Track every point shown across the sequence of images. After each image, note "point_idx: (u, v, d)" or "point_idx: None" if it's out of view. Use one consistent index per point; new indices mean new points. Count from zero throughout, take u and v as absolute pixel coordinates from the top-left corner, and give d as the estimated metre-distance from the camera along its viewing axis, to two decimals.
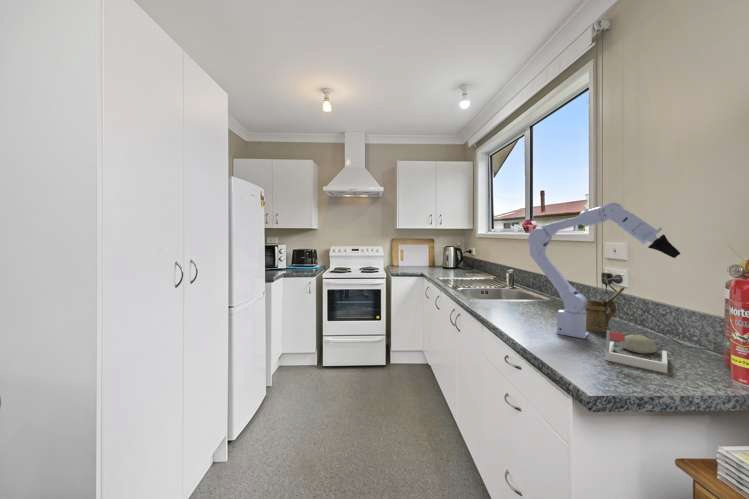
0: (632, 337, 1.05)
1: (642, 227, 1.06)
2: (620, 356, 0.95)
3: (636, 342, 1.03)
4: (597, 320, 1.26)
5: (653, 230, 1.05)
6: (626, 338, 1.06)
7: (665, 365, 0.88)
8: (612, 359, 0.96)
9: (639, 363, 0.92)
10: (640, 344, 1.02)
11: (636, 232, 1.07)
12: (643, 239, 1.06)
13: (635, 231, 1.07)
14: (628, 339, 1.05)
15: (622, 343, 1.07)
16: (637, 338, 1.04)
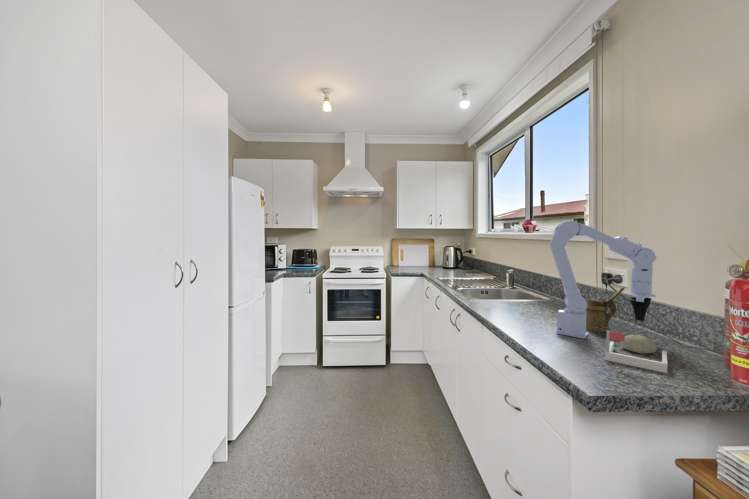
0: (632, 337, 1.05)
1: (644, 285, 1.11)
2: (620, 356, 0.95)
3: (636, 342, 1.03)
4: (597, 320, 1.26)
5: (648, 293, 1.11)
6: (626, 338, 1.06)
7: (665, 365, 0.88)
8: (612, 359, 0.96)
9: (639, 363, 0.92)
10: (640, 344, 1.02)
11: (636, 284, 1.12)
12: (634, 292, 1.13)
13: (636, 283, 1.12)
14: (628, 339, 1.05)
15: (622, 343, 1.07)
16: (637, 338, 1.04)
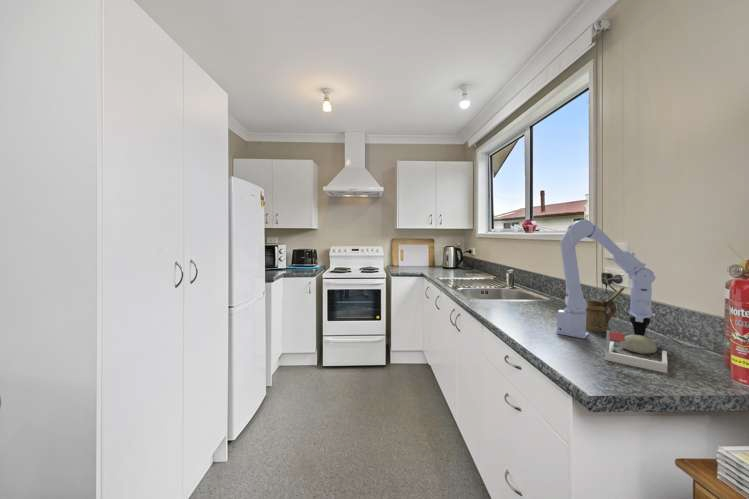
0: (632, 337, 1.05)
1: (644, 304, 1.11)
2: (620, 356, 0.95)
3: (636, 342, 1.03)
4: (597, 320, 1.26)
5: (647, 312, 1.11)
6: (626, 338, 1.06)
7: (665, 365, 0.88)
8: (612, 359, 0.96)
9: (639, 363, 0.92)
10: (640, 344, 1.02)
11: (635, 303, 1.12)
12: (633, 311, 1.13)
13: (636, 302, 1.12)
14: (628, 339, 1.05)
15: (622, 343, 1.07)
16: (637, 338, 1.04)
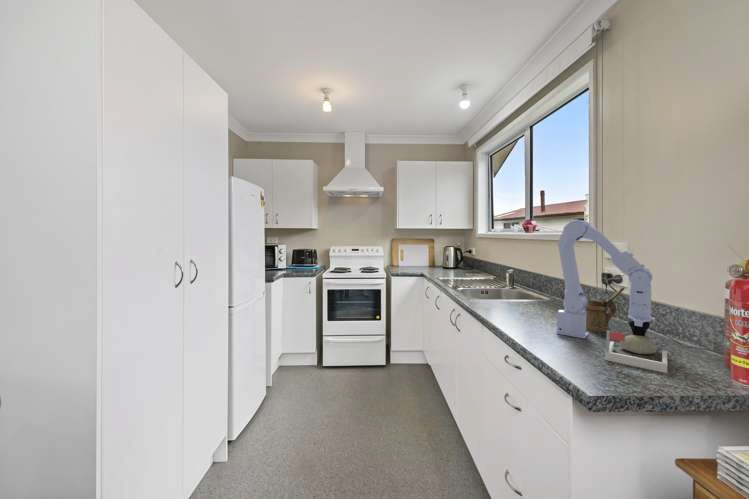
0: (632, 337, 1.04)
1: (643, 308, 1.06)
2: (620, 356, 0.95)
3: (636, 343, 1.02)
4: (597, 320, 1.26)
5: (647, 316, 1.06)
6: (626, 338, 1.05)
7: (665, 365, 0.88)
8: (612, 359, 0.96)
9: (639, 363, 0.92)
10: (639, 345, 1.01)
11: (634, 307, 1.07)
12: (632, 315, 1.08)
13: (635, 305, 1.07)
14: (628, 340, 1.04)
15: (621, 343, 1.06)
16: (637, 338, 1.03)
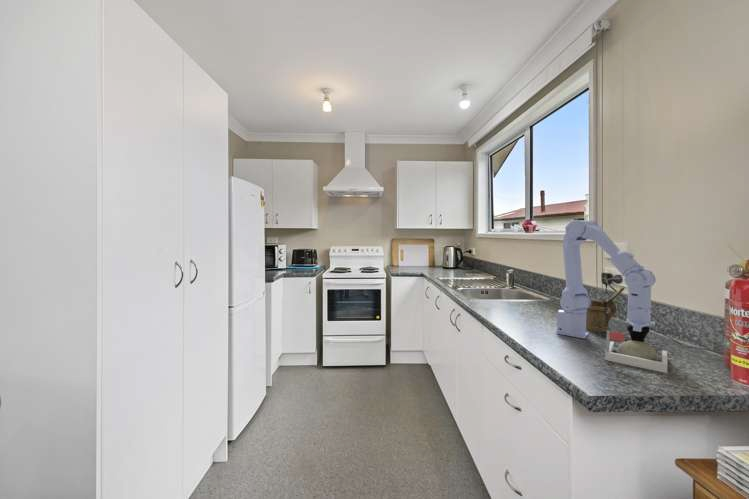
0: (630, 343, 0.99)
1: (642, 312, 1.00)
2: (620, 356, 0.95)
3: (635, 349, 0.97)
4: (597, 320, 1.26)
5: (646, 321, 1.00)
6: (624, 344, 1.00)
7: (665, 365, 0.88)
8: (612, 359, 0.96)
9: (639, 363, 0.92)
10: (638, 351, 0.96)
11: (633, 310, 1.02)
12: (631, 319, 1.03)
13: (633, 309, 1.02)
14: (626, 345, 0.99)
15: (619, 349, 1.00)
16: (635, 344, 0.98)
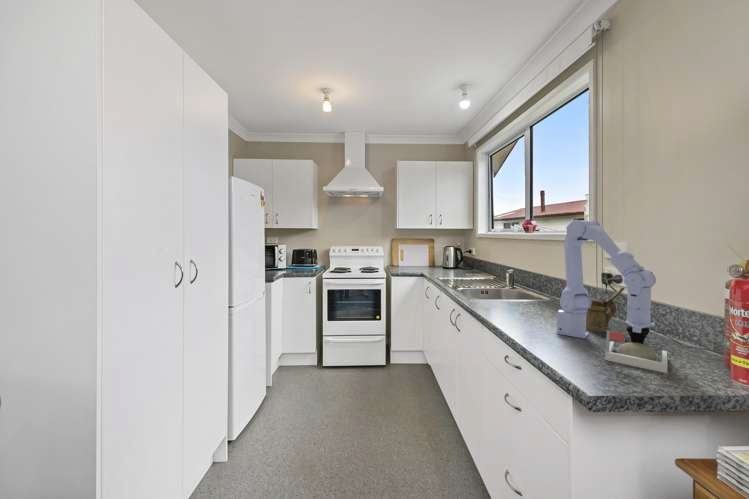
0: (630, 345, 0.98)
1: (642, 313, 0.99)
2: (620, 356, 0.95)
3: (634, 351, 0.95)
4: (597, 320, 1.26)
5: (646, 322, 0.99)
6: (623, 346, 0.98)
7: (665, 365, 0.88)
8: (612, 359, 0.96)
9: (639, 363, 0.92)
10: (638, 353, 0.95)
11: (633, 311, 1.01)
12: (630, 320, 1.01)
13: (633, 310, 1.01)
14: (625, 347, 0.98)
15: (619, 351, 0.99)
16: (635, 346, 0.97)
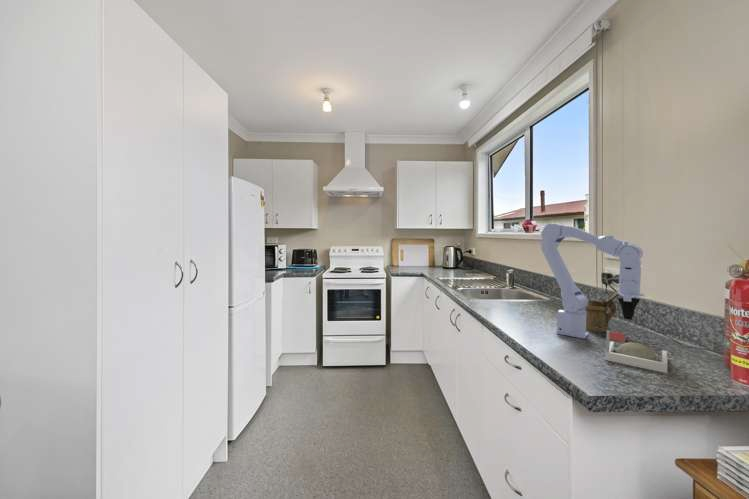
0: (630, 345, 0.98)
1: (632, 284, 1.07)
2: (620, 356, 0.95)
3: (634, 351, 0.95)
4: (597, 320, 1.26)
5: (636, 292, 1.06)
6: (623, 346, 0.98)
7: (665, 365, 0.88)
8: (612, 359, 0.96)
9: (639, 363, 0.92)
10: (638, 353, 0.95)
11: (624, 283, 1.08)
12: (622, 291, 1.09)
13: (624, 282, 1.08)
14: (625, 347, 0.98)
15: (619, 351, 0.99)
16: (635, 346, 0.96)
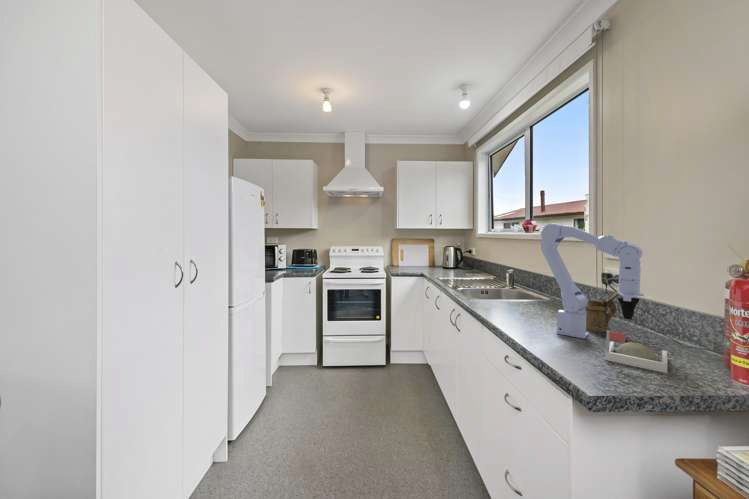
0: (630, 345, 0.98)
1: (632, 283, 1.07)
2: (620, 356, 0.95)
3: (634, 351, 0.95)
4: (597, 320, 1.26)
5: (636, 292, 1.07)
6: (623, 346, 0.98)
7: (665, 365, 0.88)
8: (612, 359, 0.96)
9: (639, 363, 0.92)
10: (638, 353, 0.95)
11: (624, 283, 1.08)
12: (621, 291, 1.09)
13: (624, 281, 1.08)
14: (625, 347, 0.98)
15: (619, 351, 0.99)
16: (635, 346, 0.96)
